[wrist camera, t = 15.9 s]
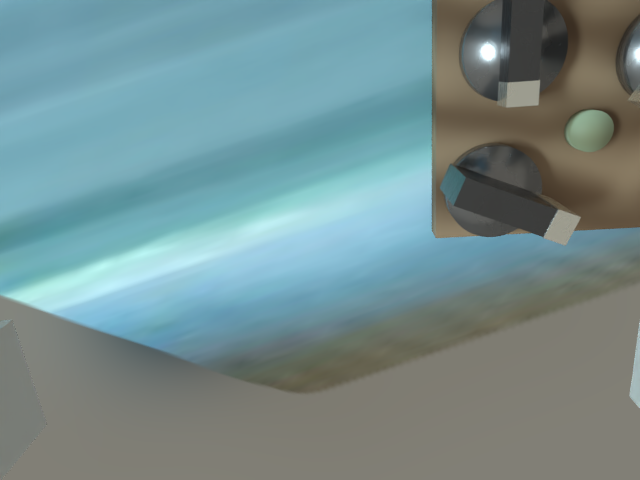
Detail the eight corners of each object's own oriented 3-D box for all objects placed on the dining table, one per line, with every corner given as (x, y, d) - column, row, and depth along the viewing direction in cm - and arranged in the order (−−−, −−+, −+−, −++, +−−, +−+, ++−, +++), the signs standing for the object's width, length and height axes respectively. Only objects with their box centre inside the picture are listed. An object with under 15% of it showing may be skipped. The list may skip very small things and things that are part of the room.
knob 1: (459, 0, 35) (472, -7, 31) (563, -9, 34) (587, -17, 31) (457, 105, 37) (469, 110, 34) (554, 99, 36) (576, 102, 33)
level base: (432, -2, 37) (440, -8, 34) (717, -26, 35) (752, -35, 32) (431, 230, 43) (438, 243, 40) (675, 216, 41) (702, 229, 38)
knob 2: (423, 212, 40) (438, 240, 34) (459, 128, 37) (482, 140, 31) (516, 244, 40) (548, 277, 34) (558, 163, 38) (599, 182, 32)
